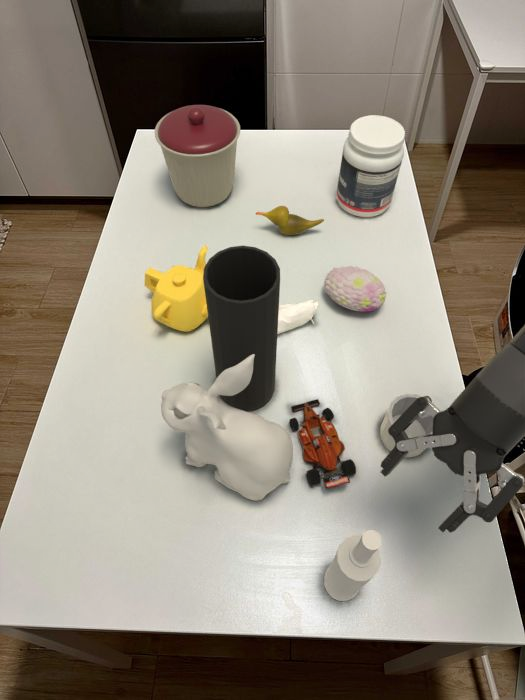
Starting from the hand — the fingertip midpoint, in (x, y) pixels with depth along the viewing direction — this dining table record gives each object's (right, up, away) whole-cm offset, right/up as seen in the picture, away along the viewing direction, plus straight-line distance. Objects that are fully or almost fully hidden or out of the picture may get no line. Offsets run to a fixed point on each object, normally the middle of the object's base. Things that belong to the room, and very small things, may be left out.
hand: (412, 500), depth 60 cm
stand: (+7, +3, +28) cm, 29 cm away
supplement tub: (+6, +52, +61) cm, 81 cm away
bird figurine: (-12, +22, +41) cm, 48 cm away
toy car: (-8, +1, +27) cm, 28 cm away
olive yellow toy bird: (-11, +44, +55) cm, 72 cm away
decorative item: (+1, +27, +44) cm, 52 cm away
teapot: (-32, +26, +43) cm, 59 cm away
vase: (-20, +11, +33) cm, 40 cm away
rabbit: (-23, -1, +25) cm, 34 cm away
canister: (-31, +55, +63) cm, 89 cm away
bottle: (-6, -16, +15) cm, 23 cm away
